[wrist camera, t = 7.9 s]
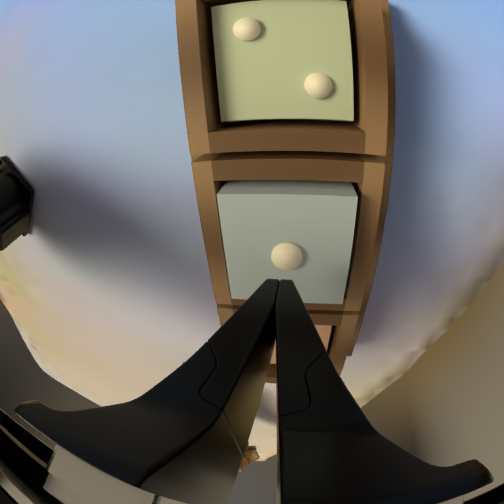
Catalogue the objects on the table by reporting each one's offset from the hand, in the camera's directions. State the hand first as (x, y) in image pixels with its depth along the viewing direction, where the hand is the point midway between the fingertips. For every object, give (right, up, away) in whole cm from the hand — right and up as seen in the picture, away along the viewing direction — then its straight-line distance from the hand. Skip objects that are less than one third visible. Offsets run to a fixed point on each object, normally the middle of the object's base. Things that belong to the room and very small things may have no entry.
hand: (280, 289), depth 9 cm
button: (+1, +2, +3) cm, 4 cm away
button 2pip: (+1, +9, 0) cm, 9 cm away
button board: (+1, +4, +6) cm, 8 cm away
